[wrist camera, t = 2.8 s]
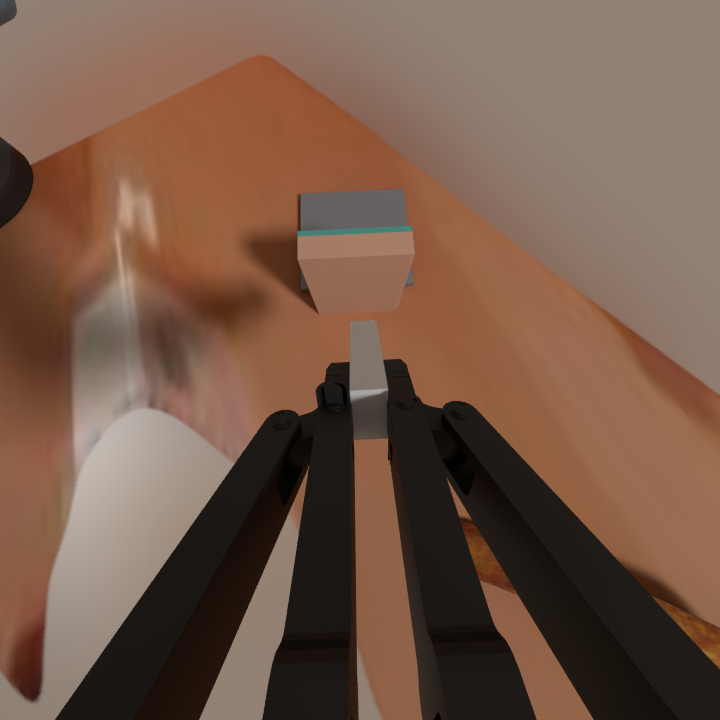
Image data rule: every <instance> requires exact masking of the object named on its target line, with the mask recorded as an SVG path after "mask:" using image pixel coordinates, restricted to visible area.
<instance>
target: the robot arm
mask: <svg viewBox="0 0 720 720" xmlns="http://www.w3.org/2000/svg"><path fill="white" fill-rule="evenodd" d="M16 12H17V8H16V3H15V0H0V26H2V25H3V24H5V23H7V22H9V21H10V20H12V19H13V18H14V17H15V16H16ZM31 185H32V170H31V167H30V164H29V162H28V161H27V159H26V158H25V157H24V155H23V154H21V153H20V152H19V151H18V150H16V149H15V148H14V147H13V146H11V145H10V144H9V143H7V142H6V141H5V140H4V139H2V138H1V137H0V227H1V226H2V225H3V224H5V223H6V222H7V221H9V220H10V219H11V218H12V217H13V216H14V215H15V214H16V213H17V212H18V211H19V209H20V208H21V207H22V205H23V204H24V202H25V201H26V199H27V197H28V195H29V192H30V189H31ZM316 397H317V403H318V408H317V409H316V410H314V411H312V412H310V413H307V414H304V415H301V416H298V414H297V413H296V412H295V411H291V410H281V411H277V412H275V413H273V414H271V415H270V416H269V417H268V418H267V419H266V420H265V422H264V423H263V424H262V426H261V427H260V429H259V430H258V432H257V433H256V434H255V436H254V437H253V439H252V440H251V442H250V443H249V444H248V446H247V447H246V449H245V450H244V452H243V453H242V454H241V456H240V457H239V459H238V460H237V461H236V463H235V464H234V466H233V467H232V469H231V470H230V472H229V473H228V474H227V476H226V477H225V479H224V480H223V481H222V483H221V484H220V486H219V487H218V489H217V490H216V491H215V493H214V494H213V496H212V497H211V499H210V500H209V501H208V503H207V504H206V506H205V507H204V509H203V510H202V511H201V513H200V514H199V516H198V517H197V518H196V520H195V521H194V523H193V524H192V526H191V527H190V528H189V530H188V531H187V533H186V534H185V536H184V537H183V538H182V540H181V541H180V543H179V544H178V545H177V547H176V548H175V550H174V551H173V553H172V554H171V556H170V557H169V558H168V560H167V561H166V563H165V564H164V565H163V567H162V568H161V570H160V571H159V573H158V574H157V575H156V577H155V578H154V580H153V581H152V582H151V584H150V585H149V587H148V588H147V590H146V591H145V592H144V594H143V595H142V597H141V598H140V600H139V601H138V603H137V604H136V605H135V607H134V608H133V610H132V611H131V613H130V614H129V615H128V617H127V618H126V619H125V621H124V622H123V624H122V625H121V627H120V628H119V629H118V631H117V632H116V634H115V635H114V637H113V638H112V639H111V641H110V642H109V644H108V645H107V647H106V648H105V649H104V651H103V652H102V654H101V655H100V657H99V658H98V659H97V661H96V662H95V664H94V665H93V666H92V668H91V669H90V671H89V672H88V674H87V675H86V676H85V678H84V679H83V681H82V682H81V684H80V685H79V687H78V688H77V689H76V691H75V692H74V694H73V695H72V696H71V698H70V699H69V701H68V702H67V703H66V705H65V706H64V708H63V709H62V711H61V712H60V714H59V715H58V716H57V718H56V719H55V720H199V719H200V716H201V714H202V712H203V709H204V707H205V705H206V703H207V700H208V698H209V696H210V693H211V691H212V689H213V686H214V684H215V682H216V679H217V677H218V675H219V673H220V670H221V668H222V666H223V663H224V661H225V659H226V656H227V654H228V652H229V649H230V647H231V645H232V642H233V640H234V638H235V635H236V633H237V631H238V629H239V626H240V624H241V622H242V619H243V617H244V615H245V613H246V610H247V608H248V605H249V603H250V601H251V599H252V596H253V594H254V592H255V589H256V587H257V585H258V583H259V580H260V578H261V576H262V573H263V571H264V569H265V566H266V564H267V562H268V559H269V557H270V555H271V552H272V550H273V548H274V545H275V543H276V541H277V539H278V536H279V534H280V532H281V529H282V527H283V525H284V523H285V520H286V518H287V516H288V513H289V511H290V509H291V506H292V504H293V502H294V500H295V497H296V495H297V493H298V490H299V488H300V486H301V483H302V481H303V479H304V476H305V474H306V472H307V470H308V466H309V470H308V477H307V484H306V490H305V497H304V503H303V510H302V517H301V523H300V530H299V537H298V543H297V550H296V557H295V563H294V570H293V576H292V583H291V590H290V596H289V603H288V609H287V616H286V622H285V628H284V634H283V638H282V641H281V643H280V645H279V647H278V649H277V651H276V653H275V657H274V660H273V663H272V668H271V673H270V678H269V683H268V689H267V695H266V701H265V707H264V714H263V719H262V720H359V718H358V683H357V636H356V553H355V469H354V440H361V439H383V438H387V434H388V460H390V465H391V472H392V480H393V487H394V495H395V502H396V509H397V517H398V524H399V531H400V539H401V546H402V554H403V561H404V568H405V576H406V583H407V590H408V598H409V605H410V612H411V620H412V627H413V635H414V642H415V649H416V657H417V665H418V678H419V693H420V703H421V711H422V719H423V720H536V717H535V714H534V711H533V708H532V705H531V702H530V699H529V697H528V694H527V691H526V688H525V685H524V682H523V679H522V676H521V673H520V670H519V668H518V665H517V663H516V660H515V658H514V655H513V653H512V651H511V649H510V647H509V645H508V643H507V641H506V640H505V639H504V638H503V637H502V635H501V634H500V633H499V632H498V631H497V629H496V627H495V625H494V623H493V620H492V617H491V614H490V611H489V608H488V605H487V602H486V599H485V596H484V593H483V590H482V587H481V583H480V580H479V577H478V574H477V571H476V568H475V565H474V562H473V559H472V556H471V552H470V549H469V546H468V543H467V540H466V537H465V534H464V531H463V528H462V525H461V521H460V518H459V515H458V512H457V509H456V506H455V503H454V500H453V497H452V494H451V491H450V487H449V484H448V481H449V482H450V484H451V486H452V487H453V489H454V490H455V492H456V494H457V495H458V497H459V499H460V500H461V502H462V504H463V505H464V507H465V509H466V510H467V512H468V513H469V515H470V517H471V518H472V520H473V522H474V523H475V525H476V527H477V528H478V530H479V532H480V533H481V535H482V537H483V538H484V540H485V541H486V543H487V545H488V546H489V548H490V550H491V551H492V553H493V555H494V556H495V558H496V560H497V561H498V563H499V564H500V566H501V568H502V569H503V571H504V573H505V574H506V576H507V578H508V579H509V581H510V583H511V584H512V586H513V587H514V589H515V591H516V592H517V594H518V596H519V597H520V599H521V601H522V602H523V604H524V606H525V607H526V609H527V611H528V612H529V614H530V615H531V617H532V619H533V620H534V622H535V624H536V625H537V627H538V629H539V630H540V632H541V634H542V635H543V637H544V638H545V640H546V642H547V643H548V645H549V647H550V648H551V650H552V652H553V653H554V655H555V657H556V658H557V660H558V662H559V663H560V665H561V666H562V668H563V670H564V671H565V673H566V675H567V676H568V678H569V680H570V681H571V683H572V685H573V686H574V688H575V689H576V691H577V693H578V694H579V696H580V698H581V699H582V701H583V703H584V704H585V706H586V708H587V709H588V711H589V712H590V714H591V716H592V717H593V719H594V720H720V669H719V668H718V667H717V666H716V665H715V664H714V663H713V662H712V660H711V659H710V658H709V657H708V656H707V655H706V654H705V653H704V652H703V651H702V650H701V649H700V648H699V647H698V645H697V644H696V643H695V642H694V641H693V640H692V639H691V638H690V637H689V636H688V635H687V634H686V633H685V632H684V631H683V629H682V628H681V627H680V626H679V625H678V624H677V623H676V622H675V621H674V620H673V619H672V618H671V617H670V616H669V615H668V613H667V612H666V611H665V610H664V609H663V608H662V607H661V606H660V605H659V604H658V603H657V602H656V601H655V600H654V599H653V597H652V596H651V595H650V594H649V593H648V592H647V591H646V590H645V589H644V588H643V587H642V586H641V585H640V584H639V582H638V581H637V580H636V579H635V578H634V577H633V576H632V575H631V574H630V573H629V572H628V571H627V570H626V569H625V568H624V566H623V565H622V564H621V563H620V562H619V561H618V560H617V559H616V558H615V557H614V556H613V555H612V554H611V553H610V552H609V550H608V549H607V548H606V547H605V546H604V545H603V544H602V543H601V542H600V541H599V540H598V539H597V538H596V537H595V535H594V534H593V533H592V532H591V531H590V530H589V529H588V528H587V527H586V526H585V525H584V524H583V523H582V522H581V521H580V519H579V518H578V517H577V516H576V515H575V514H574V513H573V512H572V511H571V510H570V509H569V508H568V507H567V506H566V505H565V503H564V502H563V501H562V500H561V499H560V498H559V497H558V496H557V495H556V494H555V493H554V492H553V491H552V490H551V488H550V487H549V486H548V485H547V484H546V483H545V482H544V481H543V480H542V479H541V478H540V477H539V476H538V475H537V474H536V472H535V471H534V470H533V469H532V468H531V467H530V466H529V465H528V464H527V463H526V462H525V461H524V460H523V459H522V458H521V456H520V455H519V454H518V453H517V452H516V451H515V450H514V449H513V448H512V447H511V446H510V445H509V444H508V443H507V441H506V440H505V439H504V438H503V437H502V436H501V435H500V434H499V433H498V432H497V431H496V430H495V429H494V428H493V427H492V425H491V424H490V423H489V422H488V421H487V420H486V419H485V418H484V417H483V416H482V415H481V414H480V413H479V412H478V411H477V409H476V408H474V407H473V406H472V405H470V404H468V403H465V402H461V401H451V402H448V403H446V404H445V405H444V406H443V409H442V408H436V407H431V406H428V405H426V404H423V403H422V401H421V400H420V398H419V397H417V396H416V394H415V391H414V388H413V385H412V381H411V378H410V375H409V372H408V368H407V365H406V364H405V363H404V362H403V361H402V360H401V359H391V360H383V357H382V352H381V346H380V341H379V335H378V329H377V324H376V320H373V321H352V322H350V362H343V363H331V364H330V365H329V367H328V368H327V370H326V377H325V382H323V383H321V384H320V385H319V386H318V387H317V389H316ZM446 477H447V478H446ZM447 479H448V481H447Z"/></svg>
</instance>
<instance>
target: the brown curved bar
mask: <svg viewBox="0 0 720 720" xmlns="http://www.w3.org/2000/svg"><path fill="white" fill-rule="evenodd" d="M461 525H462V528H463V531H464V534H465V537H466V540H467V543H468V546H469V549H470V552H471V556H472V559H473V562H474V565H475V568H476V571H477V574H478V577H479V580H480V581H483V582H486V583H489V584H491V585H494V586H497V587H499V588H501V589H503V590H506V591H509V592H511V593H514V594H517V592H516V591H515V589H514V587H513V586H512V584H511V583H510V581H509V579H508V578H507V576H506V574H505V573H504V571H503V569H502V568H501V566H500V564H499V563H498V561H497V560H496V558H495V556H494V555H493V553H492V551H491V550H490V548H489V546H488V545H487V543H486V541H485V540H484V538H483V537H482V535H481V533H480V532H479V530H478V528H477V527H476V526H475V525H473V524H471V523H468V522H464V521H461ZM517 595H518V594H517ZM652 597H653V596H652ZM653 599H654V600H655V601H656V602H657V603H658V604H659V605H660V606H661V607H662V608H663V609H664V610H665V611H666V612H667V613H668V615H669V616H670V617H671V618H672V619H673V620H674V621H675V622H676V623H677V624H678V625H679V626H680V627H681V628H682V629H683V631H684V632H685V633H686V634H687V635H688V636H689V637H690V638H691V639H692V640H693V641H694V642H695V643H696V644H697V645H698V647H699V648H700V649H701V650H702V651H703V652H704V653H705V654H706V655H707V656H708V657H709V658H710V659H711V660H712V662H713V663H714V664H715V665H716V666H717V667H718V668H719V669H720V628H719V627H717V626H715V625H713V624H711V623H709V622H706V621H704V620H702V619H699V618H697V617H695V616H693V615H691V614H689V613H687V612H685V611H683V610H681V609H679V608H677V607H675V606H673V605H670V604H668V603H666V602H664V601H662V600H660V599H658V598H655V597H653Z"/></svg>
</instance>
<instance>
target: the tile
mask: <svg viewBox="0 0 720 720" xmlns="http://www.w3.org/2000/svg"><path fill="white" fill-rule="evenodd" d="M414 255H415V251H414V242H413V232H412V226H398V227H376V228H355V229H333V230H311V231H298V262H299V265H300V267H301V270H302V272H303V275H304V277H305V280H306V282H307V285H308V287H309V290H310V293H311V295H312V298H313V300H314V303H315V305H316V308H317V310H318V313H319V314H340V313H362V312H383V311H397V310H398V306H399V303H400V300H401V297H402V294H403V290H404V287H405V284H406V281H407V278H408V274H409V271H410V268H411V265H412V261H413V258H414Z"/></svg>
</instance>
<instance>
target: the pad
mask: <svg viewBox="0 0 720 720" xmlns="http://www.w3.org/2000/svg"><path fill="white" fill-rule="evenodd" d="M398 226H407V216H406V206H405V196H404V189H394V190H372V191H349V192H327V193H305V194H301V231H311V230H333V229H355V228H376V227H398ZM412 285H413V277H412V267H411V268H410V271H409V274H408V278H407V281H406V284H405V286H412ZM301 290H302V291H308V290H309V287H308V285H307V282H306V280H305V277H304V275H303V272H302V270H301Z"/></svg>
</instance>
